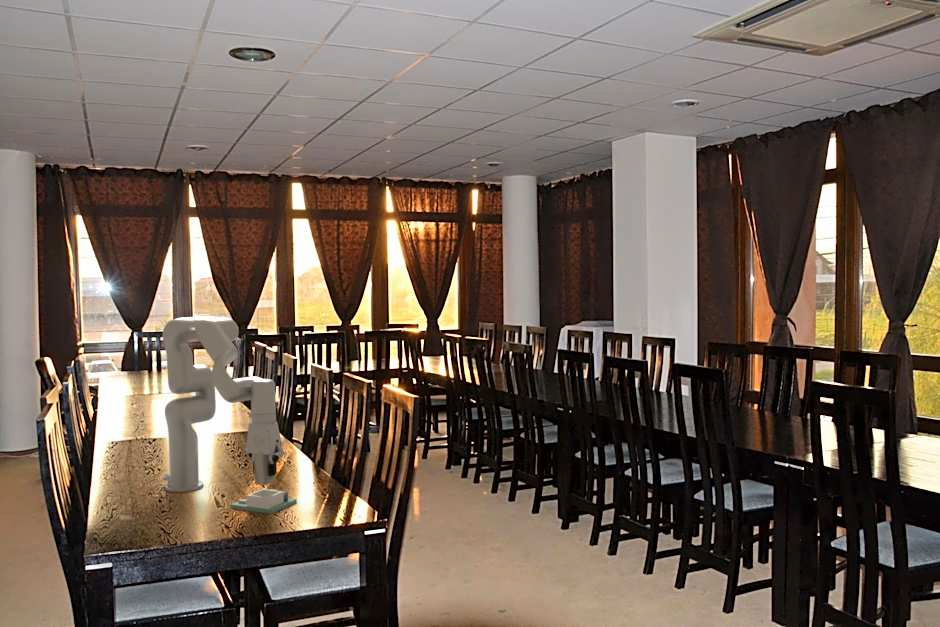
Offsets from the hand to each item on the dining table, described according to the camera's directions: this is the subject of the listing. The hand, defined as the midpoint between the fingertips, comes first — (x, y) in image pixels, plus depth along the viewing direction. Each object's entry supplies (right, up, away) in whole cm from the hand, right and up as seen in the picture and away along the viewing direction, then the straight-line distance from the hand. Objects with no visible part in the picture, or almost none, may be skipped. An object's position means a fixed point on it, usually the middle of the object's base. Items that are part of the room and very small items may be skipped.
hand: (264, 473), depth 259 cm
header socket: (0, -10, +1) cm, 10 cm away
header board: (-1, -11, +3) cm, 11 cm away
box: (0, -3, 0) cm, 3 cm away
